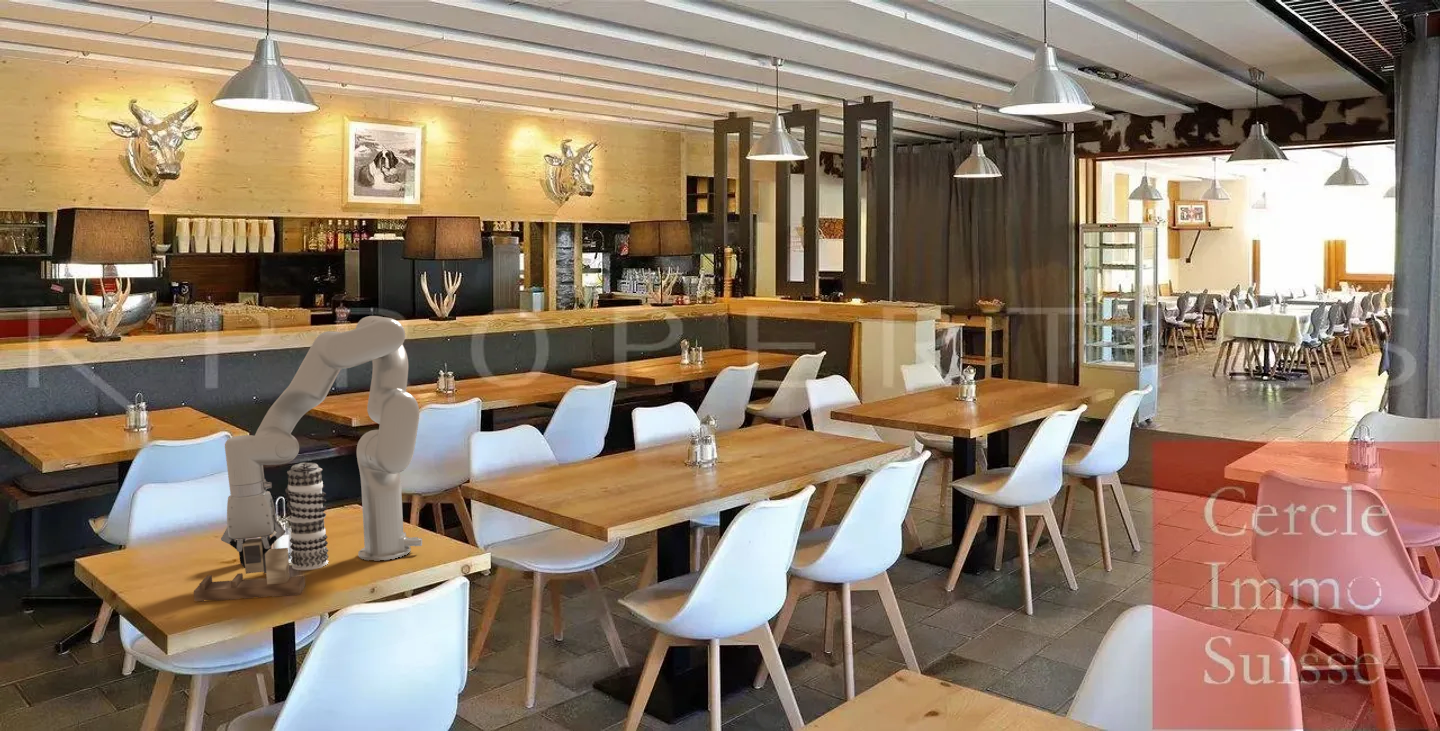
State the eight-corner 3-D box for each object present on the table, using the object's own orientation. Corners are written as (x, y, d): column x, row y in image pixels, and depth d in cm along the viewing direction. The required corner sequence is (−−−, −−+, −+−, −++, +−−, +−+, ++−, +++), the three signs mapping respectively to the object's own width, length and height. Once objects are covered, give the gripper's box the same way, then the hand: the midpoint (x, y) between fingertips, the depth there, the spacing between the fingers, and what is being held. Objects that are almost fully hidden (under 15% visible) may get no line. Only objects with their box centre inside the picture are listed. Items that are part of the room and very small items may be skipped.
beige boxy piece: (250, 568, 250) (246, 539, 249) (268, 566, 250) (264, 537, 249) (245, 574, 245) (241, 545, 244) (263, 572, 246) (260, 543, 245)
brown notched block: (305, 586, 243) (302, 545, 242) (299, 594, 238) (297, 553, 236) (202, 593, 239) (199, 552, 238) (194, 602, 233) (191, 560, 232)
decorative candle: (288, 562, 262) (282, 463, 259) (328, 557, 266) (323, 459, 263) (290, 572, 254) (284, 470, 251) (331, 567, 257) (325, 466, 254)
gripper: (289, 481, 251) (297, 556, 253) (213, 488, 248) (223, 564, 250) (282, 489, 243) (291, 566, 246) (204, 496, 240) (214, 574, 243)
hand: (256, 564), depth 248 cm, fingers closed on beige boxy piece, 4 cm apart
